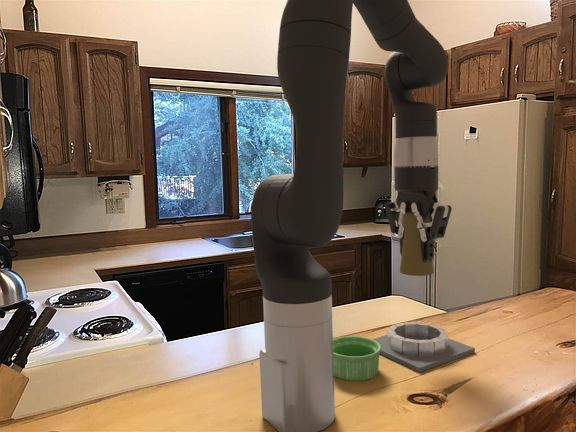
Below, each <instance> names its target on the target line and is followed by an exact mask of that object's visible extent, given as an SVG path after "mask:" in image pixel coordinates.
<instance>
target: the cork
mask: <svg viewBox="0 0 576 432" xmlns="http://www.w3.org/2000/svg"><path fill="white" fill-rule="evenodd" d="M417 217H418V216H417ZM422 220H423V222H424V223H430V222H431V218H429V219H428V218H427V219H422ZM418 222H419V221H417V218H416V216H415V215H414V213H413V212H407V213H405V214H404V215H403V216H402V226H403V228H404V229H405V232H404V240H403V248H402V256H401V255H400V265H399V266H400V267H399V273H400V274H402V275H406V276H413V277H415V276H417V277H423V276H430V275H434V273H435V270H434V262H433V260H432V261H431V262H430V261H429V260H427V262H426V263H424V262H423V261H422V253H421V244H420V242H423V241H422V240H421V235H420V231H419V229H418V228H417V225H418ZM428 228H429V227H427V228H426V229H427V234H428Z"/></svg>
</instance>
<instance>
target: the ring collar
mask: <svg viewBox="0 0 576 432" xmlns="http://www.w3.org/2000/svg"><path fill="white" fill-rule="evenodd" d="M386 331H387V332H386V335H387V344H388V345H389V347H390V348H391V349H392V350H394V351H396V352H399V353H401V354H404V355H410V356H417V357H418V356H419V357H425V356H436V355H439V354H442V353H445V352H446V350H447V348H448V338H449V333H448V331H446V329H444V328H443V327H441V326H439V325H435V324H432V323H427V322H420V321H410V322H409V321H408V322H407V321H406V322H400V323H397V324H392V325H390V327H388V329H387V330H386ZM404 337H422V338H428V339H431V340H414V339H407V338H404Z"/></svg>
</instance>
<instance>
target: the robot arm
mask: <svg viewBox="0 0 576 432" xmlns="http://www.w3.org/2000/svg"><path fill="white" fill-rule="evenodd" d="M409 2H410V1H408V0H287V1H286V2H285V3H286V4H285V6H284V8H283V11H282V15H281V20H280V25H279V34H278V44H277V45H278V46H277V58H276V61H277V62H276V67H277V68H276V69H277V77H278V80H279V84H280V87H281V90H282V92H283V93H282V94H283V95H284V97H285V100H286V102H287V105H288V107H289V110H290V112H291V115H292V118H293V121H294V125H295V126H294V127H295V132H296V135H295V136H296V150H295V151H296V152H295V164H294V170H293V171H294V172H293V173H280V174H272V175H269V176H267V177H266V178H264V179H263V180H261V182H259V184H258V186H257V188H256V189H255V191H254V193H253V196H252V199H251V200H252V201H251V208H250V209H251V211H250V218H251V219H250V221H251V223H250V224H251V235H252V246H253V256H254V265H255V272H256V275H257V277H258V279H259V281H260V284H261V288H262V303H263V305H262V306H263V309H262V310H263V327H264V328H263V329H264V330H263V332H264V348H263V349H260V350H259V374H260V375H259V376H260V377H259V378H260V397H261V398H260V399H261V416H262V418H263V419H265V420H266V421H267V422H268V423H269V424H270V425H271V426H272V427H273V428H274V429H275V430H276V431H278V432H320V431H323V430H325V429H326V428H328V427H329V426H331V425H332V424H333V422H334V420H335V418H336V407H335V406H336V405H335V403H336V401H335V399H336V397H335V376H334V361H333V339H334V335H333V332H334V331H333V298H332V297H333V295H332V293H333V290H332V287H333V286H332V284H333V283H332V276H331V274H330V272H329V270H327V269H326V268H325V267H323V266H322V265H321V264H320V263H319V262H318V261H317V260H316V259H315V258H314V257H313V255H312V254H311V252H310V249H309V248H321V247H323V246H325V245H328V244H329V243H330V242H331V241H332V240H333V239H334V238H335V236H336V235H337V232H338V230H339V228H340V225H341V221H342V217H343V211H344V210H343V209H344V194H345V193H344V121H345V104H346V103H345V102H346V89H347V88H346V87H347V79H348V70H349V62H350V61H349V60H350V51H351V41H352V40H351V39H352V21H353V20H352V18H353V17H352V16H353V5H354V7H355V8H356V10H357V12H358V14H360V16H361V19H362V21H364V23H365V26H366V27H367V29H368V30H369V32H370V34H371V36H372V38H373V39H374V41H375V42H376V44H377V46H378V47H379V48H380V49H381V50H383V51H385V52H392V53H390V55H389V56H388V58H387V60H386V62H385V65H384V69H383V70H384V71H383V72H384V79H385V80H384V81H385V83H386V87H387V90H388V94H389V97H390V100H391V105H392V109H393V113H394V118H395V119H394V121H395V122H394V123H395V125H394V127H395V128H394V129H395V139H394V140H395V142H394V143H395V144H394V149H393V155H394V156H393V159H394V160H393V162H394V163H393V166H394V167H393V174H394V179H393V180H394V187H393V188H394V191H396V192H397V196H396V200H394V201H389V202H385V204H384V207H385V212H386V215H387V216H386V217H387V221H388V224H389V228H390V232H391V234H395V235H397V237H398V238H399V253H400V257H401V256H402V248H403V240H404V232H405V229H404V228H403V226H402V216H403V215H404V214H405V213H407V212H413V213H414V215H415V216H416V218H417V221H419V222H418V225H417V228H418V229H419V231H420V235H421V240H422V241H423V242H420V244H421V253H422V261H423V262H424V263H426V262H427V260H429V261H430V262H431V261H433V260H434V256H435V241H436V240H438V239H442V238H443V239H444V237H445V235H446V231H447V227H448V223H449V220H450V217H451V213H452V210H453V209H452V206H451V205H449V204H446V205H444V204H442V203H440V202H439V200H438V198H437V191H438V189H439V174H440V173H439V167H440V166H439V144H438V112H437V111H438V110H437V107H436V106H435V104H434V103H431V102H427V101H425V102H424V101H417V100H416V99H415V96H414V94H413V90H419V89H425V88H431V87H435V86H438V85H440V84H442V83H443V82H444V80H445V79H446V77H447V75H448V72H449V64H450V63H449V57H448V54H447V52H446V50H445V49H444V47H443V45H442V44H441V43H440V42H439V40H438V39H437V38H436V37H435V36H434V35H433V34H432V33H431V32H430V31H429V30H428V29H427V27H425V25H423V24H422V23H421V22H420V21H419V20H418V18H417V17H416V15H415V12H414V11H413V8H412V7H411V5H410V3H409ZM417 216H418V217H417ZM427 218H428V219H429V218H431V222H430V223H424V222H423V220H422V219H427ZM427 227H429V228H428V234H427V229H426V228H427Z"/></svg>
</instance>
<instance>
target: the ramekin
mask: <svg viewBox="0 0 576 432" xmlns="http://www.w3.org/2000/svg"><path fill="white" fill-rule="evenodd" d="M372 339H373V338H370V337H365V336H358V335H357V336H356V335H355V336H354V335H352V336H351V335H350V336H349V335H348V336H347V335H346V336H340V337H335V338H333V361H334V377H336V378H337V379H341V380H344V381H349V380H350V381H351V382H357V381H358V382H360V381H359V380H361V381H366V379H367V380H369V378H370V379H371V378H373V377H375V376H376V375H377V373H379V372H378V371H379V365H380V364H379V363H380V361H379V359H380V355H381V354H380V351H381V346H380V344H379V343H378V342H376V341H375V340H372ZM352 380H353V381H352Z"/></svg>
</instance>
